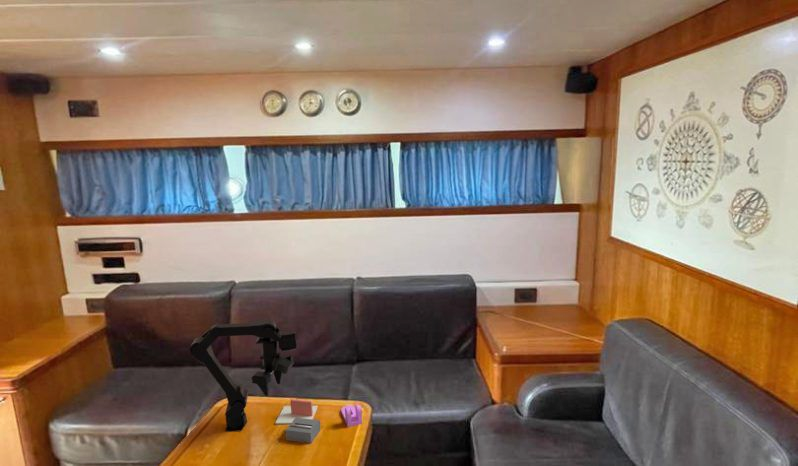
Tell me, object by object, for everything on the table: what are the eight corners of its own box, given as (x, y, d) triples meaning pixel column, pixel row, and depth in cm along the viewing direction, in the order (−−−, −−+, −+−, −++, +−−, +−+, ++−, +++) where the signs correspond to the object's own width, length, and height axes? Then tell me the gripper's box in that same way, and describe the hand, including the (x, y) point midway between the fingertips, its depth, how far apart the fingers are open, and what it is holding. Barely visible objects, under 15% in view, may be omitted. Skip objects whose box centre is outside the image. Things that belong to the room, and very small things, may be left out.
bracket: (362, 423, 172) (361, 407, 171) (348, 427, 170) (347, 410, 169) (353, 407, 184) (352, 391, 183) (339, 410, 182) (338, 394, 181)
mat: (275, 424, 174) (275, 422, 173) (284, 407, 185) (284, 406, 185) (310, 423, 173) (310, 422, 173) (317, 406, 185) (317, 405, 185)
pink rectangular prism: (290, 400, 178) (310, 402, 176) (291, 399, 179) (311, 401, 177) (291, 414, 179) (312, 416, 177) (292, 412, 180) (312, 415, 178)
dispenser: (286, 439, 163) (285, 428, 163) (296, 427, 171) (295, 415, 170) (311, 443, 161) (310, 431, 160) (320, 430, 169) (319, 418, 168)
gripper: (276, 364, 161) (279, 404, 164) (300, 344, 179) (302, 380, 181) (249, 362, 164) (252, 401, 166) (275, 342, 182) (277, 377, 184)
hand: (272, 389), depth 175 cm, fingers open, 9 cm apart
